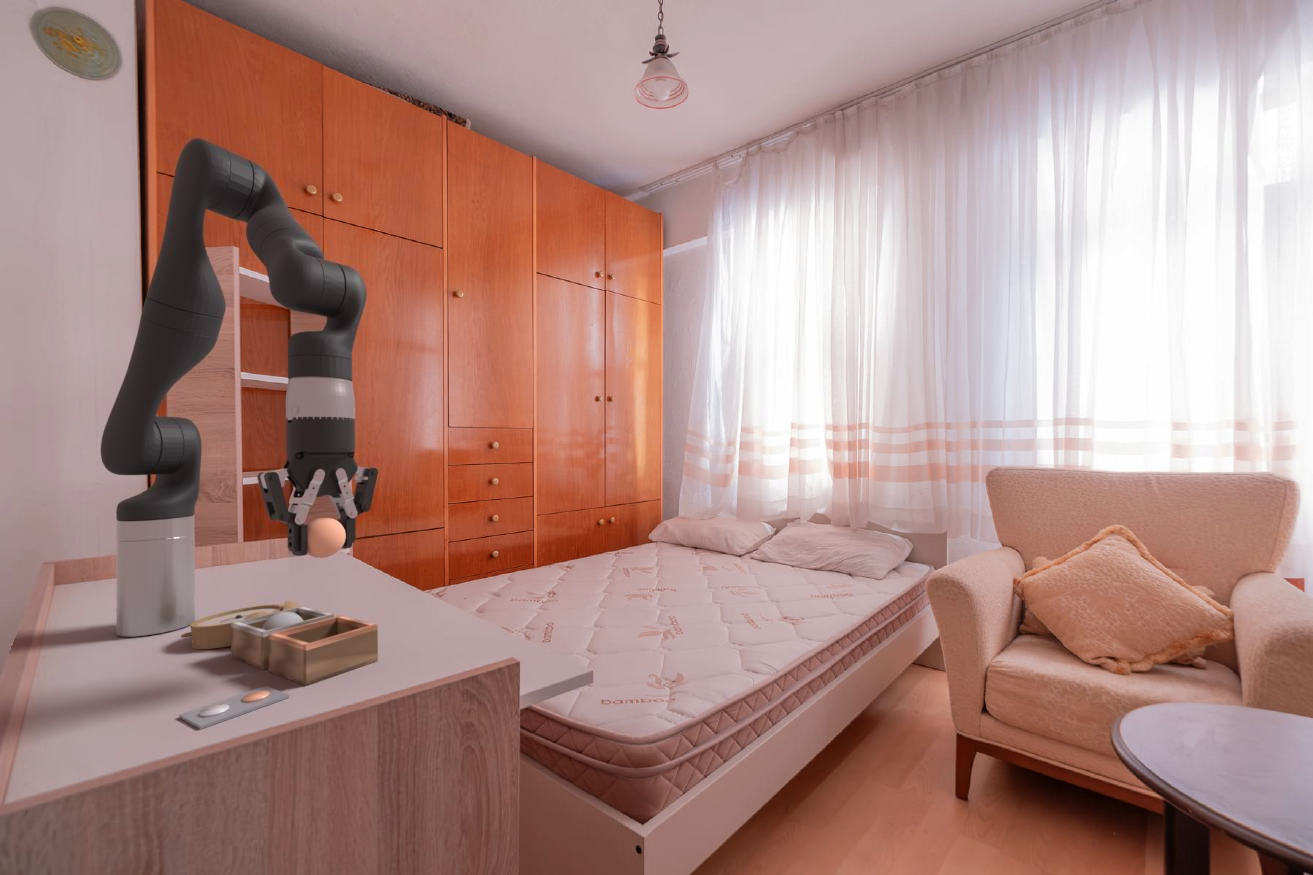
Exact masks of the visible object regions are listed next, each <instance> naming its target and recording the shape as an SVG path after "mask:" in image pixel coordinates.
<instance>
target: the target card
mask: <svg viewBox="0 0 1313 875" xmlns="http://www.w3.org/2000/svg"><path fill="white" fill-rule="evenodd" d="M289 698H290V694H288V693H285V692H283V691H280V690H278V689H275V688H273V687H271V686H268V685H264V686H261V687H258V688H255V689H253V690H249V691H246V692H243V693H239V694H237V695H235V696H231V697H228V698H225V699H221V700H219V701H215V702H213V703H210V704H206V705H204V706H202V707H197V708H195V709H191V710H189V711H185V712H183V713H179V714H178V717H179V719H181V720H183V721H185V722H186V723H189V725H192V726H193V727H195V728H198V729H199V730H201V729H205V728H208V727H210V726H213V725H216V724H219V723H221V722H225V721H227V720H230V719H233V718H235V717H238V716H239V717H240V716H241V715H245V714H248V713H250V712H253V711H256V710H258V709H261V708H264V707H266V706H270V705H272V704H275V703H278V702H280V701H281V702H282V701H284V700H286V699H289Z"/></svg>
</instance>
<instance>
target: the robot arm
mask: <svg viewBox="0 0 1313 875" xmlns="http://www.w3.org/2000/svg"><path fill="white" fill-rule="evenodd" d="M206 210H207V211H210V212H213V213H216V214H218V215H220V216H224V217H226V218H229V219H232V220H235V221H239V222H240V221H241V222H244V223H247V224H246V229H245V231H246V232H245V236H246V240H247V242H248V245H249V247H250V249H251V250H252V252H253V254H254V255H255V256H256V258H258V260H259V261H260V262H261V264H262V265H264V267H265V269H266V274H267V277H268V284H269V291H270V294H271V297H273V299H274V300H275V301H276V302H277V303H278V304H280V305H281V306H283V307H284V308H286V309H289V310H291V311H294V312H300V313H304V314H305V313H306V314H310V315H316V316H321V317H326V322H325V326H324V327H323V329H322V330H309V331H306V330H305V331H300V332H299V331H298V332H296V333H294V334H292V335H291V336H290V337H289V339H288V344H287V388H286V395H285V437H286V438H285V439H286V440H285V444H286V445H285V446H286V448H285V449H286V456H287V457H286V461H285V463H284V465H283V468H280V469H276V470H272V471H262V472H259V473H258V474H257V478H256V479H257V482H258V485H259V488H260V492H261V495H262V500H263V502H264V506H265V509H266V513H267V515H268V519H269V520H270V521H277V522H281V523H285V525H286V529H287V531H286V532H287V536H286V537H287V538H286V539H287V542H286V543H287V549H288V550H289V552H292V555H293V556H298V557H301V556H307V555H308V554H307V524H305V522H306V519H307V517H308V514H309V511H310V508H311V507H313V505H314V503H315V500H316V499H317V498H320V497H325V496H326V497H327V496H328V497H329V499H330V502H331V503H332V504H333V505H334V508H335V510H336V512H337V514H338V517H340V518H337V521H338V522H339V523H341V525H342V526H343V527H344V529H345V533H346V539H345V542H344V545H343V546H342V548H341V549H350V548H352V547H353V544H355V542H356V539H357V536H356V532H357V530H356V529H357V528H356V524H357V523H356V522H357V521H356V520H357V517H359V515H362V514H363V513H367V512H369V511H370V510H371V507H372V504H373V498H374V493H375V489H376V484H377V479H378V474H379V470H378V468H376V467H365V466H359V465H358V464H357V461H356V459H355V451H356V400H355V392H354V386H353V385H354V384H353V350H354V344H355V340H356V337H357V332H358V329H359V325H360V321H361V319H362V316H363V313H364V310H365V308H366V307H365V306H366V302H367V296H368V295H367V287H366V283H365V281H364V278H363V277H362V276H361V274H360V273H359V271H357V270H356V268H355V269H354V268H353V267H350V266H348V265H345V264H341V263H337V262H334V261H331V260H327V259H325V256H324V253H323V251H322V249H321V247H320V245H319V244H318V243H317V242H316V240H314V238H312V236H311V235H310V234H309V233H308V232H307V231H306V230H305V228H303V227H302V225H301V224H300V223H299V222H298V221H297V220H296V219H295V218H294V216H293V215H292V213H291V211H290V208H289V207H288V205H287V203H286V200H285V199H284V197H283V195H282V194H281V191H280V189H279V186H278V185H277V184H276V182H275V180H274V179H273V177H272V175H270V174H269V173H268V170H266V169H265V168H263V167H262V166H261V165H259V164H257V163H256V162H254V161H252V160H250V159H248V158H246V157H243V156H241V155H239V154H236V153H235V152H233V151H230V150H228V149H226V148H224V147H221V146H220V145H217V144H215V143H212V142H210V141H209V140H206V139H204V138H199V137H198V138H192V139H191V140H189V141H188V142H187V143H186V144H185V145H184V146H183V148H182V150H181V153H179V157H178V159H177V163H176V166H175V170H174V176H173V181H172V186H171V194H170V199H169V204H168V210H167V216H166V223H165V228H164V233H163V238H162V241H161V246H160V249H159V250H160V251H159V254H158V257H157V261H156V263H155V264H156V265H155V267H154V271H153V273H152V278H151V279H150V280H151V281H150V284H149V286H148V290H147V293H146V296H145V301H144V303H143V307H142V312H141V316H140V319H139V325H138V328H137V334H136V338H135V342H134V344H133V349H132V352H131V357H130V359H129V362H128V363H129V364H128V366H127V369H126V373H125V375H124V377H123V380H122V383H121V386H120V388H119V391H118V394H117V396H116V397H115V398H116V399H115V401H114V404H113V406H112V407H111V411H110V414H109V416H108V419H107V421H106V424H105V426H104V430H103V432H102V436H101V441H100V456H101V463H102V464H103V466H104V468H105V469H106V470H107V471H109V472H110V474H114V475H119V476H149V475H155V479H154V482H153V483H152V485H151V486H150V487H148V488H147V489H146V490H144V491H142V492H140V493H138V494H137V495H134V496H131V497H128V498H125V499H123V500H121V501H119V503H118V504H117V506H116V519H115V520H116V608H115V610H116V611H115V612H116V613H115V614H116V617H115V624H116V625H115V626H116V628H115V629H116V630H115V631H116V633H115V634H116V636H119V637H128V638H129V637H141V636H142V637H143V636H144V637H145V636H148V635H157V634H163V633H166V632H172V631H176V630H180V629H183V628H186V627H188V626H190V624H191V623H193V622H194V621H196V618H195V617H196V612H195V611H196V606H195V604H196V599H195V598H196V572H195V571H196V568H195V567H196V564H195V563H196V559H195V557H196V553H195V552H196V547H195V546H196V545H195V544H196V542H195V541H196V540H195V539H196V534H195V529H196V528H195V524H196V523H195V521H196V519H195V517H196V516H195V514H196V513H195V512H196V511H195V510H196V504H197V500H198V498H199V494H200V483H201V482H200V481H201V480H200V479H201V467H202V464H201V462H202V449H203V448H202V447H203V446H202V438H201V434H200V430H199V428H198V426H197V425H196V424H195V423H194V422H193V421H192V420H191V419H188V418H186V417H179V416H163V415H161V416H160V415H157V414H158V411H159V409H160V406H161V405H162V402H163V400H164V399H165V397H166V395H167V394H168V392H169V391H170V390H171V389H172V387H174V386H175V384H176V383H177V382H178V381H180V380H181V379H182V378H183V377H184V376H186V375H187V374H188V373H189V372H190V371H191V370H193V369H195V367H197V365H198V364H200V363H201V362H202V361H203V360H204V359H205V358H206V357H207V356H208V355H209V354H210V353H211V351H212V350H213V349H214V348H215V346H216V344H217V342H218V338H219V335H220V331H221V329H222V324H223V321H224V317H225V313H226V307H227V305H226V299H225V295H224V292H223V289H222V287H221V284H220V281H219V279H218V277H217V274H216V272H215V270H214V268H213V265H212V263H211V261H210V257H209V255H208V251H207V249H206V244H205V239H204V238H205V237H204V226H205V225H204V224H205V223H204V222H205V215H206ZM353 477H354V480H355V482H356V486H355V490H354V494H353V492H352V488H351V487H350V486H351V485H350V483H351V481H352V479H353ZM286 479H287V480H288V481H289V482H290V484H291V485H292V486H293V490H292V492H291V495H290V497H289V501H288V503H289V506H288V504H287V501H286V498H285V494H284V490H283V488H284V487H285V485H286Z"/></svg>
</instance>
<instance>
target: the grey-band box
mask: <svg viewBox="0 0 1313 875" xmlns="http://www.w3.org/2000/svg"><path fill="white" fill-rule="evenodd" d="M281 612H292V613H295V614H297V615H299V616H300V617H301V618H302V619H303V621H301V622H297V623H293V624H289V625H285V626H282V627H278V628H274V629H270V630H264V629H262V627H263V625H264V624H265V622H266V621H267V620H268V619H269V618H270V617H272V616H273V615H275V614H278V613H281ZM332 617H335V614H334V613H332V612H331V613H330V612H326V611H322V610H317V609H313V608H309V607H305V606H299V607H296V608H292V609H288V610H283V611H279V612H275V613H270V614H266V615H262V616H257V617H253V618H249V619H245V620H240V621H236V622H232V623H231V646H230V648H231V651H230V658H232V659H234V660H236V661H239V662H242V663H245V664H247V665H250V666H253V667H255V668H259V669H261V670H269V634H271V633H274V632H278V631H282V630H286V629H290V628H294V627H297V626H301V625H305V624H309V623H313V622H317V621H321V620H324V619H328V618H332Z"/></svg>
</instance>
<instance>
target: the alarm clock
mask: <svg viewBox="0 0 1313 875" xmlns="http://www.w3.org/2000/svg"><path fill="white" fill-rule="evenodd" d="M296 607H300V606H299V604H298V603H297V602H295V601H293V600H288V601H287V600H286V601H284V603H283V604H275V603H274V604H262V605H254V606H248V607H243V608H238V609H232V610H228V611H224V612H219V613H215V614H212V615H208V616H205V617H203V618H202V617H201V618H200V619H197V620H195V621H194V622H193V623H191V624H190V625H189V628H190V631H189V632H185V633H183V634H181V635H180V637H181V638H189V637H191V648H192V649H196V650H208V649H216V648H217V649H219V648H225V647H229V646H230V647H231V623H232V622H236V621H240V620H245V619H249V618H253V617H257V616H262V615H266V614H270V613H275V612H279V611H283V610H288V609H292V608H296Z"/></svg>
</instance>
